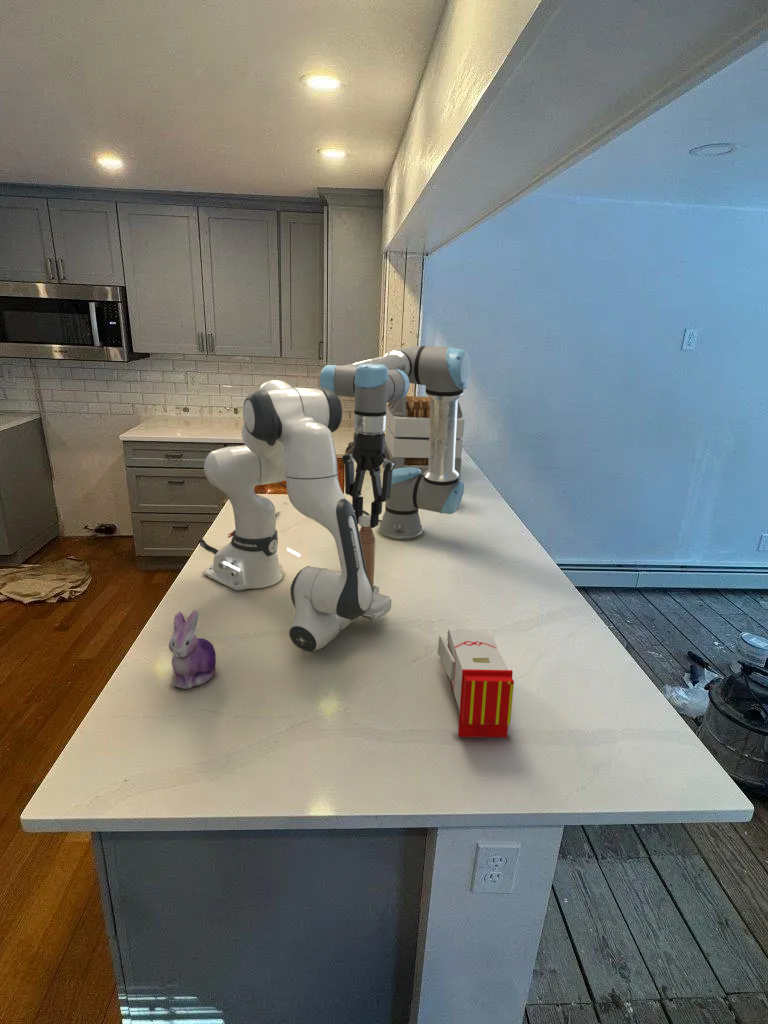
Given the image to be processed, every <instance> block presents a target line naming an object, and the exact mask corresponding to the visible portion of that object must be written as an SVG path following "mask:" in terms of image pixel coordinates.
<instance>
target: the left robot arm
mask: <svg viewBox="0 0 768 1024" xmlns="http://www.w3.org/2000/svg"><path fill="white" fill-rule="evenodd" d="M242 420H243V424H242V429H241V438H242V442H243V443H244V444H242V445H235V446H233V445H232V446H225V447H222V448H218V449H215V450H212V451H210V452H208V454H207V456H206V457H205V460H204V464H203V471H204V476H205V478H206V479H207V481H208V483H210V485H211V486H213V487H214V488H215V489H218V490H219V491H221V492H222V493H223V494H224V495H225V497H226V498H227V499H228V500H229V503H230V504H231V507H232V512H233V516H234V517H233V519H234V527H235V528H234V530H233V531H232V532H230V533H228V534H227V538H231V539H230V540H231V541H230V542H229V543H227V544H226V545H225V546H223V547H222V548H220V549H219V550H218V549H217V548H215V547H213V546H211V545H209V544H208V543H206V541H205V540H204V539H202V538H201V539H199V540H198V541H197V543H198V544H201V543H202V545H203V546H204V547H205V548H207V549H209V550H210V551H212V552H215V554H214V556H213V559H212V560H213V561H212V564H210V565H209V566H208V567H207V568H206V570H205V571H204V575H205V577H208V578H210V579H212V580H215V581H216V582H218V583H220V584H221V585H224V586H226V587H228V588H230V589H233V590H234V591H243V590H248V589H263V588H268V587H271V586H274V585H276V584H278V583H279V582H280V581H281V580H283V576H284V574H283V571H282V569H281V565H280V560H279V554H278V544H279V541H278V540H279V537H278V529H277V526H276V524H277V523H276V521H277V519H276V518H277V517H276V518H275V515H276V507H275V504H274V503H273V501H271V500H270V499H269V498H268V497H265V496H263V495H260V494H257V493H256V492H255V487H256V486H262V485H269V484H270V485H271V484H279V483H278V482H280V483H283V482H286V484H285V486H287V488H286V493H287V497H288V499H289V502H290V503H291V506H292V507H294V508H295V510H296V511H298V512H299V513H300V514H302V515H303V516H305V517H306V518H309V519H310V520H312V521H315V522H316V523H318V524H319V525H320V526H322V527H324V528H325V529H326V530H327V531H328V532H329V533H330V534H331V535H332V537H333V539H334V541H335V544H336V550H337V555H338V556H337V557H338V561H339V566H340V570H336V569H330V568H325V567H319V566H311V565H307V566H305V567H303V568H302V569H300V570H299V571H298V572H297V573H296V575H295V576H294V578H293V580H292V581H291V584H290V590H289V591H290V599H291V602H292V606H293V608H294V613H293V618H292V621H291V622H290V626H289V628H288V636H289V639H290V641H291V642H292V643H293V645H295V646H296V647H297V648H298V649H300V650H301V651H304V652H308V653H309V652H310V653H312V652H316V651H318V650H321V649H322V648H324V647H325V646H326V645H328V644H329V643H330V642H332V640H334V639H335V638H336V636H337V635H338V634H339V632H341V631H343V630H345V628H347V627H348V626H349V625H350V624H351V623H352V622H353V621H354V620H357V619H359V618H360V617H361V618H364V619H368V620H372V621H376V620H379V619H381V618H383V617H384V616H386V615H387V614H388V613H389V612H391V610H392V598H391V597H390V596H389V595H386V594H382V593H379V592H380V587H379V586H377V585H374V586H373V587H372V585H371V582H370V579H369V577H368V574H367V570H366V566H365V561H364V555H363V550H362V545H361V539H360V534H359V531H360V528H359V524H357V519H356V515H355V510H354V508H353V506H352V502H350V501H348V500H347V498H346V496H345V494H344V493H343V490H342V489H341V485H340V481H339V471H338V470H339V469H338V468H339V467H338V458H337V452H336V446H335V440H334V438H333V437H334V436H333V434H332V433H334V432H337V430H338V429H339V427H340V425H341V423H342V420H343V406H342V402H341V399H340V398H339V396H337V395H336V394H335V392H333V391H331V390H328V389H324V388H321V387H316V388H313V387H292V385H290V383H287V382H285V381H283V380H280V379H271V380H267V381H265V382H263V383H262V384H261V385H260V386H259V388H258V389H257V391H254V392H250V393H249V394H248V395H247V396H246V398H245V399H244V402H243V408H242ZM286 551H287V552H289V553H291V554H292V555H295V556H296V557H299V558H301V554H300V553H299V552H297V551H295V550H293V549H292V548H289V547H287V548H286Z"/></svg>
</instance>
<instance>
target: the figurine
mask: <svg viewBox="0 0 768 1024" xmlns="http://www.w3.org/2000/svg"><path fill="white" fill-rule="evenodd" d="M199 616H200V615H199V611H198V610H194V611H192V612H191V614H189V616H188V618H187V619H185V615H184V614H183V612H181V611H178V612H177V613H175V615H174V618H173V629H174V631H173V634H172V636H171V638H170V639H169V642H168V649H169V650H170V652H171V653H172V654H173V655H172V658H171V666H172V669H173V672H174V681H173V685H174V686H175V687H176V688H179V689H183V690H185V689H192V688H193V687H198V686H201V685H203V684H205V683H207V682H209V681H210V680H211V679H212V678H214V676H215V674H216V666H217V665H216V664H217V652H216V649H215V647H214V645H213V643H212V642H211V641H210V640H208V639H206V638H201V637H197V634H196V632H195V631H196V629H197V624H198V621H199Z"/></svg>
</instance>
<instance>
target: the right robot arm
mask: <svg viewBox="0 0 768 1024" xmlns="http://www.w3.org/2000/svg"><path fill="white" fill-rule="evenodd" d="M471 377H472V366H471V360H470V357H469V355H468V353H467V352H466V351H465V350H464V349H462V348H457V347H452V346H451V347H449V346H434V345H433V346H429V345H411V346H406V347H401V348H396V349H393V350H389V351H388V352H386V353H385V354H384V355H383V356H379V357H375V358H371V359H367V360H362V361H358V362H355V363H350V364H349V363H348V364H345V365H338V364H326V365H324V367H322V369H321V371H320V375H319V386H320V388H324V389H328V390H331V391H333V392H335V394H336V395H337V396H338V397H346V398H354V410H353V412H354V413H353V431H354V433H353V439H352V440H353V441H352V442H353V446H354V450H353V452H352V454H346V455H345V454H344V455H342V461H343V464H344V493H345V495H347V496H348V495H349V496H350V497H351V499H352V500H351V504H352V506H353V508H354V511H355V515H356V519H357V524H358V525H359V523H358V519H359V517H360V516H362V515H364V514H365V515H370V516H371V527H370V528H372V529H374V528H376V527H378V533H379V534H380V535H381V536H382V537H385V538H387V539H389V540H395V541H410V540H415V539H418V538H420V537H421V536H422V535H423V525H422V524H421V518H420V515H419V510H423V511H428V512H434V513H440V514H446V515H453V514H454V513H456V512H457V510H458V509H459V508H460V505H461V502H462V500H463V496H464V493H465V492H464V491H465V482H464V481H462V480H461V479H460V481H459V473H458V472H457V471H456V470H455V450H456V429H457V408H458V402H459V398H460V397H461V396H462V395H463V394H464V390H467V388H469V386H470V383H471ZM411 384H413V385H418V386H419V385H420V386H425V394H426V395H427V397H430V429H429V465H428V467H427V469H426V470H424V472H423V474H422V470H421V468H419V467H416V466H406V467H405V466H404V468H397V469H393V468H394V466H395V462H394V461H389V460H388V459H386V456H385V454H384V449H385V442H386V441H385V438H386V433H384V432H386V426H387V423H386V412H387V405H388V403H389V402H392V401H396V400H399V399H400V398H403V397H404V396H405V395H406V394H408V393H409V390H410V388H411V387H410V386H411ZM355 464H356V467H355ZM382 465H383V466H382ZM381 466H382V468H383V474H382V479H381V473H382V472H381V471H382V470H381ZM367 471H368V474H369V476H370V480H371V487H372V494H373V501H371V505H370V513H369V512H367V511H366V510H364V496H362V495H363V494H362V491H363V490H362V489H363V485H364V480H365V476H366V472H367ZM277 484H279V485H280V486H283V488H286V489H287V486H286V484H283V482H278V483H277ZM383 503H385V504H384V505H385V507H384V508H385V509H384V513H383V515H382V519H379V518H380V515H381V514H382V512H383Z"/></svg>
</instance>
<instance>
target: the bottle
mask: <svg viewBox="0 0 768 1024" xmlns="http://www.w3.org/2000/svg"><path fill="white" fill-rule="evenodd" d="M370 527H371V526H370ZM370 527H364V526H360V528H359V534H360V539H361V545H362V550H363V555H364V561H365V566H366V570H367V574H368V577H369V579H370V582H371V585H372V587H373V586H375V564H376V563H375V562H376V541H377V540H376V537H375V533H374V531H373V529H374V528H370Z"/></svg>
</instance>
